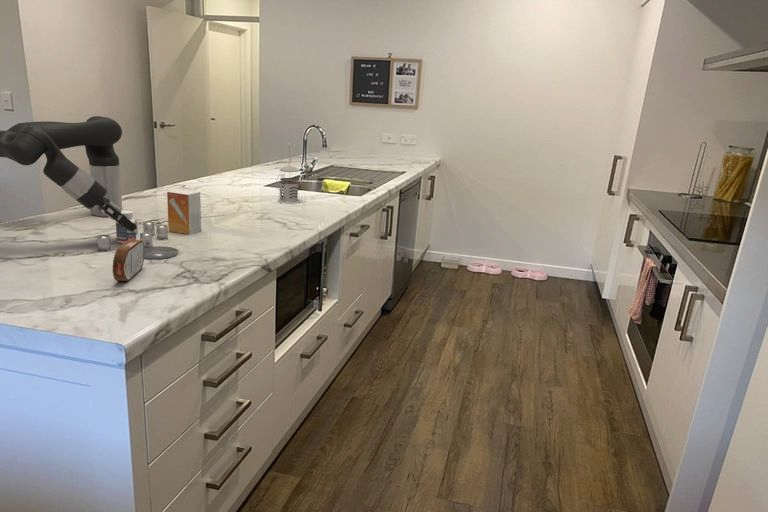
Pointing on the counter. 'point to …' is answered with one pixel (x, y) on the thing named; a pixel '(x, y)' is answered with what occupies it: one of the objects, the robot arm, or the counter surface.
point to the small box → (184, 211)
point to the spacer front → (162, 232)
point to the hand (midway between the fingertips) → (132, 226)
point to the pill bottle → (125, 229)
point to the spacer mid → (149, 227)
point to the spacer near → (103, 242)
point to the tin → (128, 260)
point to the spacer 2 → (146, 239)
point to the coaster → (159, 252)
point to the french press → (288, 185)
